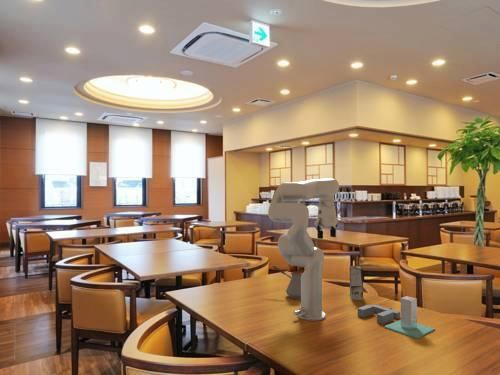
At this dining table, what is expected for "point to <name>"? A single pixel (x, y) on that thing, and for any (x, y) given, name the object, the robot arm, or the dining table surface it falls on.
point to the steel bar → (408, 313)
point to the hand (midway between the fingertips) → (326, 237)
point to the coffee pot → (293, 284)
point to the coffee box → (356, 282)
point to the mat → (414, 333)
